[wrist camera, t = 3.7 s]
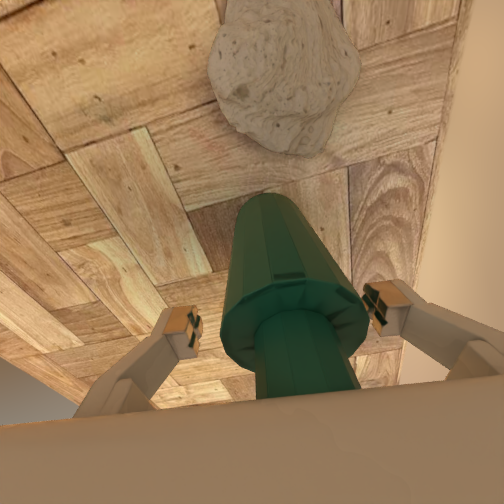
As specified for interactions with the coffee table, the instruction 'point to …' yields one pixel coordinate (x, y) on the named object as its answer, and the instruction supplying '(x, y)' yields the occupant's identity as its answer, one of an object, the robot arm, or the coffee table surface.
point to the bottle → (289, 304)
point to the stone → (283, 72)
